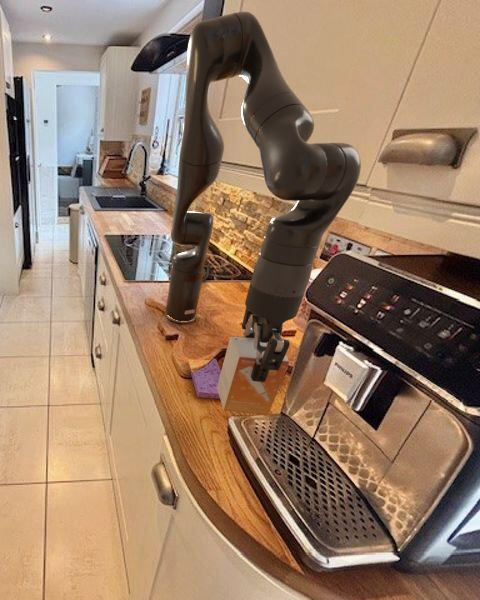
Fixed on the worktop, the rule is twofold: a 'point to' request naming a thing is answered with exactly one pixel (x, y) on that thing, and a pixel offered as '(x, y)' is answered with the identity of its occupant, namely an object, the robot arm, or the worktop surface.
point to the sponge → (207, 380)
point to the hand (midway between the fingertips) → (251, 366)
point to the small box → (247, 380)
